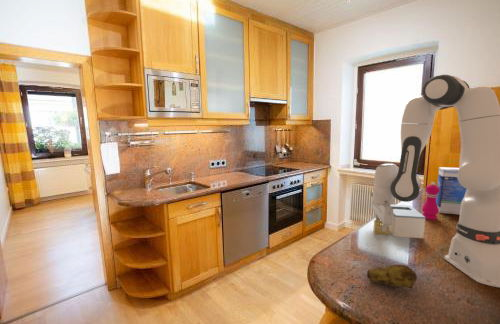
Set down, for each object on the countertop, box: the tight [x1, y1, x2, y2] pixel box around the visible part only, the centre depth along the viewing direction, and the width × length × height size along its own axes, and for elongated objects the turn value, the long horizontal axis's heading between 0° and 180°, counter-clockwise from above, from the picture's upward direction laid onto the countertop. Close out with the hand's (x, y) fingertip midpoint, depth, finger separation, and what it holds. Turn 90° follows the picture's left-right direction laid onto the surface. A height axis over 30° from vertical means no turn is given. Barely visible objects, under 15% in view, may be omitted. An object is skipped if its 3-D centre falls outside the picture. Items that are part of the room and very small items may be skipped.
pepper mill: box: [421, 181, 439, 221], centre depth 134 cm, size 7×7×20 cm
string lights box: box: [436, 166, 467, 216], centre depth 142 cm, size 13×8×26 cm, turn 68°
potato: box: [366, 264, 418, 289], centre depth 78 cm, size 8×13×8 cm, turn 40°
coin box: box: [389, 204, 426, 239], centre depth 119 cm, size 16×12×10 cm
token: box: [372, 219, 390, 236], centre depth 116 cm, size 2×6×6 cm, turn 78°
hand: (380, 226), depth 117 cm, fingers open, 8 cm apart
